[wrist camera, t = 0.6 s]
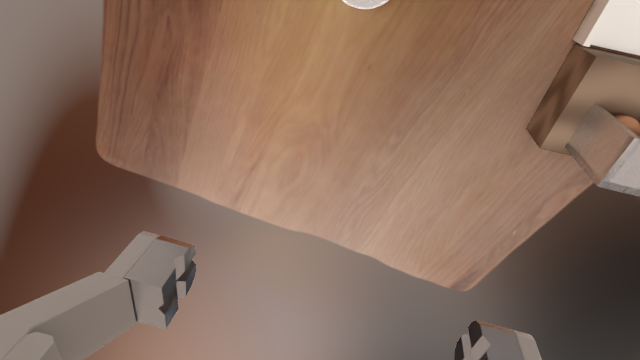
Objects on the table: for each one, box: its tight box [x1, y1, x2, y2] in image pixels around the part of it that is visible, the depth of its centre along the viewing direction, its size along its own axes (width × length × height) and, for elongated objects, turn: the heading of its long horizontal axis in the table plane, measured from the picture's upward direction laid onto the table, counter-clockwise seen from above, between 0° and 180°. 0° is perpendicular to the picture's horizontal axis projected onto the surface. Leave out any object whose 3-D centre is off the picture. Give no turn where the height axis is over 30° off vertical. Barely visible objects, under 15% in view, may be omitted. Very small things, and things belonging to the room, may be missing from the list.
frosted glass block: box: [565, 104, 640, 196], centre depth 41 cm, size 6×7×9 cm
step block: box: [526, 44, 640, 156], centre depth 46 cm, size 12×12×6 cm
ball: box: [614, 115, 640, 137], centre depth 42 cm, size 4×4×4 cm
